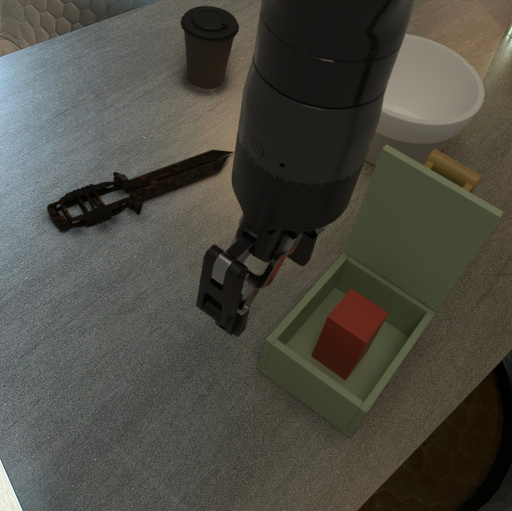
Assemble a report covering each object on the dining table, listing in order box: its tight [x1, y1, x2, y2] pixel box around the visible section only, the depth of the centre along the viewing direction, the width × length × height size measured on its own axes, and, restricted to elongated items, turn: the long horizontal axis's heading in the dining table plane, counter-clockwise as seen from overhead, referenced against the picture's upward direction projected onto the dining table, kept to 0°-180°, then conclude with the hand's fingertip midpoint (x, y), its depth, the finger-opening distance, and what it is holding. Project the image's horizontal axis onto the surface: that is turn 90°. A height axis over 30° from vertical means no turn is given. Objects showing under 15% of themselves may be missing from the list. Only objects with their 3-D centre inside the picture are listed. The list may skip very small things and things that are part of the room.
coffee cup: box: [180, 5, 240, 90], centre depth 89 cm, size 8×8×10 cm
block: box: [311, 289, 389, 381], centre depth 64 cm, size 4×4×8 cm
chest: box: [257, 251, 438, 439], centre depth 65 cm, size 15×12×6 cm
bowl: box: [364, 33, 486, 167], centre depth 86 cm, size 19×19×11 cm
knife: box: [46, 149, 235, 232], centre depth 78 cm, size 25×6×1 cm, turn 118°
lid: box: [343, 144, 504, 312], centre depth 61 cm, size 15×12×5 cm
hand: (264, 290), depth 48 cm, fingers open, 8 cm apart
